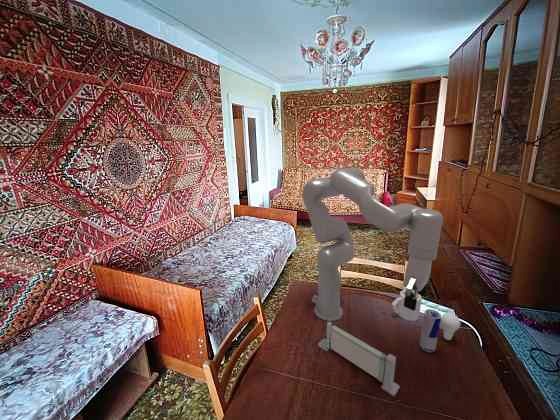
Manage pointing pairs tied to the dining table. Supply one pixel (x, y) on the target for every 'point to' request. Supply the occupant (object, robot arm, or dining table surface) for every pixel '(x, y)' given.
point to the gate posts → (389, 367)
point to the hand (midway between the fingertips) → (414, 301)
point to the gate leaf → (358, 353)
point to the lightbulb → (450, 325)
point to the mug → (406, 312)
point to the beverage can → (430, 330)
